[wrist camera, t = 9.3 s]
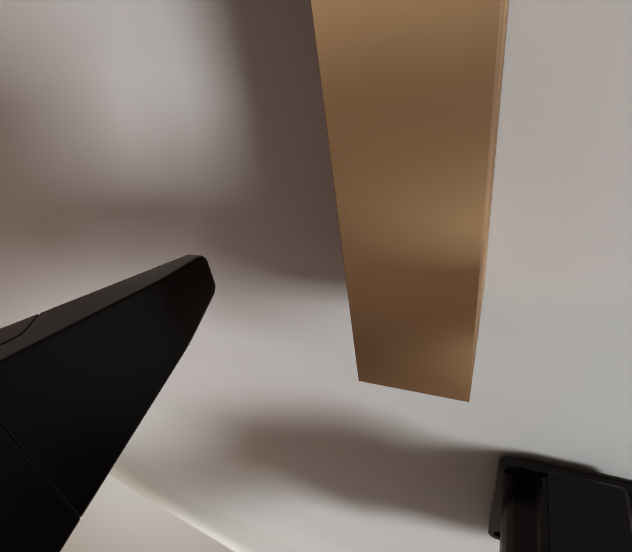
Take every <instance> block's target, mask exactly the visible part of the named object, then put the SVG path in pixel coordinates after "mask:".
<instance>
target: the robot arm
mask: <svg viewBox="0 0 632 552" xmlns="http://www.w3.org/2000/svg"><path fill="white" fill-rule="evenodd" d="M214 293H215V282H214V279H213V276H212V273H211V270H210V267H209V264H208V261H207V260H206V258H205V257H203V256H199V255H186V256H183V257H181V258H178V259H176V260H173V261H171V262H168V263H166V264H163V265H161V266H158V267H156V268H153V269H151V270H148V271H146V272H143V273H140V274H138V275H135V276H133V277H130V278H128V279H125V280H123V281H120V282H118V283H115V284H113V285H110V286H108V287H105V288H103V289H100V290H97V291H95V292H92V293H90V294H87V295H85V296H82V297H80V298H77V299H75V300H72V301H70V302H67V303H65V304H62V305H60V306H57V307H54V308H52V309H49V310H47V311H44V312H42V313H41V314H40V315H38V314H37V315H34V316H32V317H29V318H27V319H24V320H21V321H19V322H16V323H14V324H11V325H8V326H6V327H3V328H1V329H0V552H60V551H61V549H62V548H63V546H64V544H65V543H66V541H67V540H68V538H69V536H70V535H71V533H72V532H73V530H74V529H75V527H76V525H77V524H78V522H79V521H80V517H81V516H82V515H83V514H84V512H85V510H86V509H87V507H88V506H89V504H90V502H91V501H92V499H93V498H94V496H95V494H96V493H97V491H98V490H99V488H100V486H101V485H102V483H103V482H104V480H105V478H106V477H107V475H108V474H109V472H110V470H111V469H112V467H113V466H114V464H115V462H116V461H117V459H118V458H119V456H120V454H121V453H122V451H123V450H124V448H125V446H126V445H127V443H128V442H129V440H130V438H131V437H132V435H133V434H134V432H135V430H136V429H137V427H138V426H139V424H140V422H141V421H142V419H143V418H144V416H145V414H146V413H147V411H148V410H149V408H150V406H151V405H152V403H153V402H154V400H155V398H156V397H157V395H158V394H159V392H160V390H161V389H162V387H163V386H164V384H165V382H166V381H167V379H168V378H169V376H170V374H171V373H172V371H173V370H174V368H175V366H176V365H177V363H178V362H179V360H180V358H181V357H182V355H183V354H184V352H185V350H186V349H187V347H188V345H189V343H190V342H191V340H192V338H193V336H194V334H195V332H196V330H197V328H198V326H199V324H200V322H201V320H202V318H203V316H204V314H205V312H206V309H207V307H208V305H209V303H210V301H211V299H212V297H213V295H214ZM488 533H489V534H490V536H492V537H493V538H495V539H498V540H500V552H632V485H631V484H627V483H623V482H618V481H614V480H610V479H605V478H601V477H596V476H592V475H588V474H583V473H579V472H575V471H570V470H566V469H562V468H557V467H553V466H548V465H544V464H540V463H535V462H531V461H527V460H522V459H518V458H514V457H502V458H500V459H499V461H498V466H497V473H496V479H495V486H494V492H493V499H492V506H491V512H490V519H489V528H488Z"/></svg>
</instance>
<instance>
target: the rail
mask: <svg viewBox="0 0 632 552" xmlns="http://www.w3.org/2000/svg"><path fill="white" fill-rule="evenodd" d="M508 5H509V0H311V6H312V14H313V22H314V30H315V38H316V45H317V53H318V61H319V69H320V77H321V85H322V93H323V101H324V109H325V117H326V125H327V133H328V140H329V148H330V156H331V164H332V172H333V180H334V188H335V196H336V204H337V212H338V220H339V228H340V236H341V243H342V251H343V259H344V267H345V275H346V283H347V291H348V299H349V307H350V315H351V323H352V331H353V338H354V346H355V354H356V362H357V370H358V378H359V381H362V382H367V383H373V384H378V385H383V386H388V387H393V388H399V389H404V390H409V391H414V392H419V393H425V394H430V395H435V396H440V397H445V398H451V399H456V400H461V401H466V402H469V399H470V391H471V384H472V376H473V368H474V360H475V353H476V345H477V337H478V330H479V322H480V314H481V306H482V299H483V291H484V280H485V269H486V257H487V246H488V234H489V223H490V211H491V200H492V189H493V177H494V166H495V154H496V143H497V131H498V120H499V108H500V97H501V86H502V74H503V63H504V51H505V40H506V28H507V17H508Z"/></svg>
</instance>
